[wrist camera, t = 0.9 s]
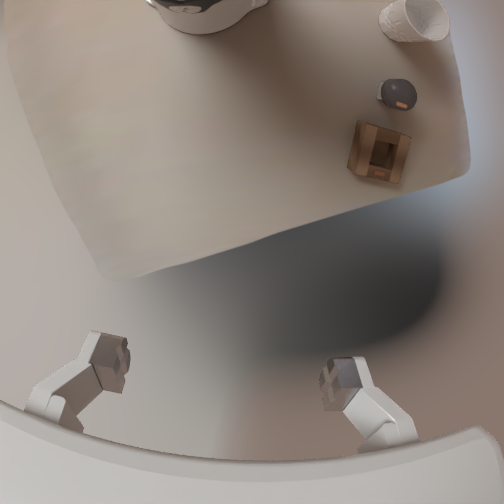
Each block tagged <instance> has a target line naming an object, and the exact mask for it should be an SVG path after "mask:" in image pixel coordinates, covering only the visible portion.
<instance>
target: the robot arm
mask: <svg viewBox="0 0 504 504" xmlns="http://www.w3.org/2000/svg"><path fill="white" fill-rule="evenodd" d="M145 1H146V2H147V3H149V4H150V5H152V6H154V7H156V9H157V10H158V11H159V13H160V15H161V16H162V18H163V19H164V20H165V21H166V22H167V23H168V24H169V25H170V26H172V27H173V28H175V29H177V30H179V31H182V32H185V33H190V34H209V33H214V32H218V31H221V30H224V29H226V28H228V27H230V26H232V25H233V24H235V23H236V22H238V21H239V20H240V19H241V18H242V17H243V16H244V15H245V14H247V13H248V12H249V11H251V10H253V9H256V8H258V7H261V6H263V5H265V4H266V3H267V2H268V1H269V0H145ZM127 344H128V342H127V338H124V337H120V336H115V335H111V334H107V333H102V332H98V331H93V330H92V331H91V332H90V333H89V334H88V336H87V339H86V341H85V343H84V345H83V347H82V350H81V352H80V354H79V356H78V358H77V360H72V361H71V362H69V363H68V364H66V365H65V366H63V367H62V368H60V369H59V370H58V371H56V372H55V373H53V374H52V375H50V376H49V377H47V378H46V379H44V380H43V381H42V382H40V383H39V384H37V385H36V386H34V388H33V391H32V393H31V395H30V398H29V400H28V402H27V405H26V407H25V409H24V411H23V410H21V409H18V408H16V407H14V406H12V405H10V404H8V403H6V402H4V401H2V400H0V504H504V459H503V456H502V452H501V449H500V447H499V444H498V442H497V440H496V439H495V438H494V437H493V436H492V435H491V434H489V433H488V432H487V431H486V430H485V429H483V428H482V427H480V426H479V425H471V426H468V427H466V428H463V429H460V430H457V431H454V432H451V433H448V434H445V435H441V436H438V437H434V438H431V439H428V440H424V441H419V438H418V435H417V432H416V429H415V426H414V423H413V420H412V418H411V417H410V416H409V415H408V414H407V413H405V412H404V411H403V410H402V409H401V408H400V407H399V406H398V405H397V404H396V403H394V402H393V401H392V400H391V399H390V398H389V397H388V396H387V395H386V394H384V393H383V392H382V391H381V390H380V389H379V388H378V387H374V384H373V381H372V378H371V375H370V372H369V370H368V367H367V364H366V361H365V359H364V358H363V357H330V358H329V359H328V360H327V367H325V368H323V370H322V372H321V374H320V379H319V381H320V389H321V390H322V391H323V392H324V393H325V394H324V396H323V398H322V400H323V404H324V410H325V411H341V410H343V412H344V414H345V415H346V416H347V417H348V419H349V420H350V421H351V422H352V423H353V425H354V426H355V427H356V428H357V429H358V431H359V432H360V433H361V434H362V435H363V437H364V438H365V439H366V441H365V442H364V443H363V444H361V445H360V446H359V447H358V454H355V455H348V456H339V457H330V458H319V459H306V460H283V461H282V460H281V461H252V460H229V459H214V458H203V457H194V456H186V455H179V454H172V453H166V452H159V451H154V450H149V449H143V448H139V447H134V446H129V445H125V444H120V443H116V442H112V441H109V440H105V439H101V438H98V437H94V436H91V435H87V434H84V433H83V429H84V427H83V425H82V424H81V422H80V421H79V420H78V418H77V417H76V415H77V414H79V413H80V412H81V411H82V410H83V409H84V408H85V407H86V406H87V405H88V404H89V403H90V402H91V401H92V400H93V399H94V398H96V397H97V396H98V395H99V394H100V393H101V392H102V391H103V390H106V391H111V392H116V393H122V390H123V387H124V383H125V378H124V374H126V373H127V372H128V370H129V366H130V351H129V350H128V349H127V348H126V347H127Z"/></svg>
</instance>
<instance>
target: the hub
mask: <svg viewBox="0 0 504 504" xmlns="http://www.w3.org/2000/svg"><path fill="white" fill-rule="evenodd" d="M410 139H411V137H409V136H406V135H404V134H401V133H398V132H395V131H392V130H388V129H385V128H382V127H378V126H375V125H371V124H368V123H364V122H360V121H357V125H356V130H355V134H354V139H353V144H352V148H351V153H350V157H349V161H348V166H347V168H349V169H350V170H351V171H352V172H353V173H354V174H357V175H362V176H366V177H371V178H375V179H380V180H384V181H388V182H392V183H397V184H399V181H400V177H401V174H402V170H403V167H404V163H405V159H406V155H407V151H408V147H409V143H410Z"/></svg>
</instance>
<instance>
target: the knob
mask: <svg viewBox="0 0 504 504" xmlns="http://www.w3.org/2000/svg"><path fill="white" fill-rule="evenodd" d="M376 99H379V100H382V101H383V102H384V103H385V104H386V105H387V106H388V107H390V108H393V109H398V110H402V111H407V110H410V109H412V108H413V107H414V106H415V104H416V101H417V93H416V90H415V88H414V86H413V85H412V84H411V83H410V82H409V81H407V80H404V79H389V80H387V81H385V82H379V87H378V92H377V98H376Z"/></svg>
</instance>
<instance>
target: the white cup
mask: <svg viewBox="0 0 504 504" xmlns="http://www.w3.org/2000/svg"><path fill="white" fill-rule="evenodd" d="M379 25H380V27H381V29H382V31H383V32H384V33H385V34H386V35H387V36H388V37H389V38H390V39H392V40H394V41H397V42H425V41H440V40H443V39H444V38H446V36H447V35H448V33H449V30H450V21H449V16H448V14H447V12H446V10H445V8H444V7H443V5H442V4H441V3H440V2H439V1H438V0H396V1H394V2H392V3H391V4H390V5H389V6H387V7H386V8H384V9H382V10H381V12H380V14H379Z"/></svg>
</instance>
